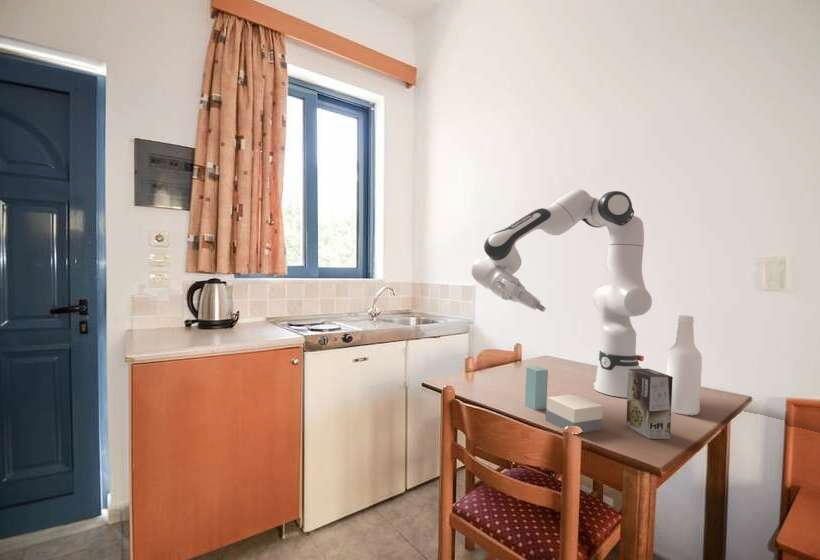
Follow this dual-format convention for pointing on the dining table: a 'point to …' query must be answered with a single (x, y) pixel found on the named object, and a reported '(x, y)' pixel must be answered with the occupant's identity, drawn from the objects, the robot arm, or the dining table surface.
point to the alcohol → (685, 369)
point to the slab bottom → (564, 422)
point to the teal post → (536, 387)
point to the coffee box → (649, 403)
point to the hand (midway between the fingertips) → (538, 306)
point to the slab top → (575, 408)
